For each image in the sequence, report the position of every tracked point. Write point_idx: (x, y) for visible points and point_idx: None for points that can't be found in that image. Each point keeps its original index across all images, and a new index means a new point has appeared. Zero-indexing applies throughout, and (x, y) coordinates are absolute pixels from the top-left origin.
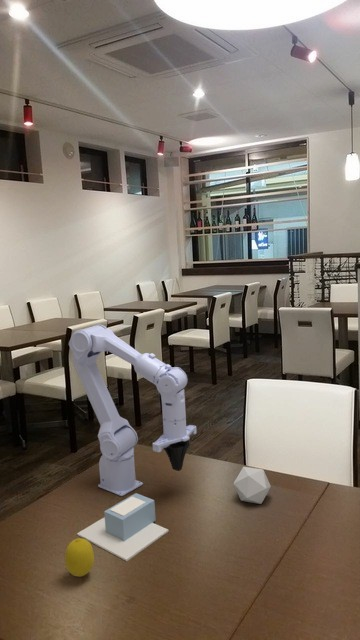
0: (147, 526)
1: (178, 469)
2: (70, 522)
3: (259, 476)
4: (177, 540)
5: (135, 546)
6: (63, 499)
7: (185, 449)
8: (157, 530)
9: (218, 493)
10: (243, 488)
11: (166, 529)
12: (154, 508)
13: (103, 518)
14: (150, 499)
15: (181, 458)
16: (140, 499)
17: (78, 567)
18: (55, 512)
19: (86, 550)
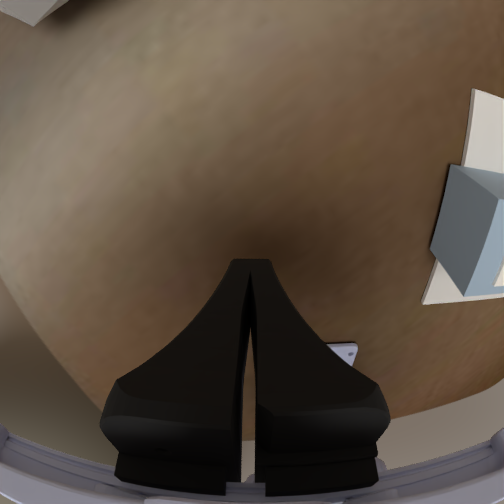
0: (484, 167)
1: (270, 265)
2: (485, 335)
3: None
4: (490, 38)
5: None
6: (408, 401)
7: (190, 361)
8: (490, 123)
9: (116, 82)
10: None
11: (476, 97)
12: (480, 183)
13: (473, 298)
14: (496, 217)
15: (243, 311)
16: (501, 250)
17: None
18: (455, 376)
19: None
